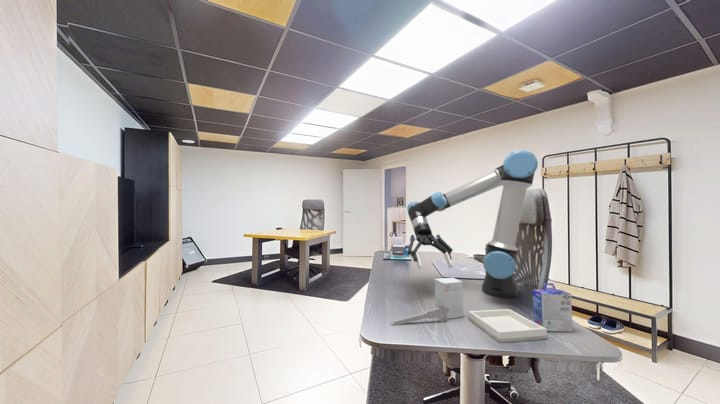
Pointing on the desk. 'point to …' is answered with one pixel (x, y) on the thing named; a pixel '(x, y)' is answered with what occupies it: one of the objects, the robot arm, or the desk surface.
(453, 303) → the small box
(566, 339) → the desk surface
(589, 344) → the desk surface
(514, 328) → the tray
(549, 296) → the ink cartridge box
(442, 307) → the caliper
